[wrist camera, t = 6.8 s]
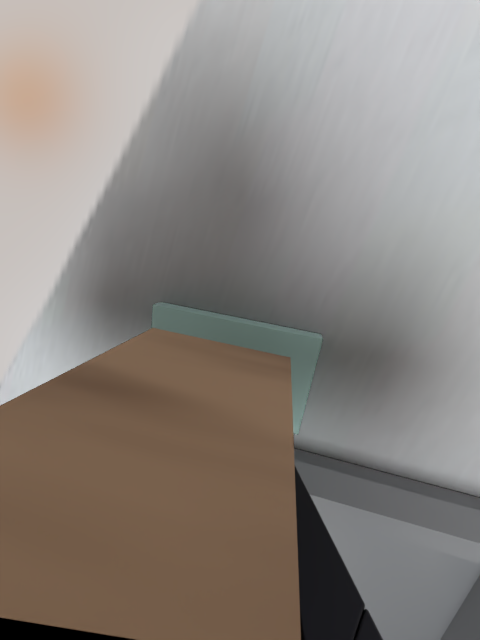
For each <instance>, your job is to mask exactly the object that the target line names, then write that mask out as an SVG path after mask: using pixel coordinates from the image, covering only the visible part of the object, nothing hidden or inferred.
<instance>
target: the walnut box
mask: <svg viewBox="0 0 480 640" xmlns="http://www.w3.org/2000/svg"><path fill="white" fill-rule="evenodd" d="M0 640H301V627H300V600H299V572H298V545H297V518H296V491H295V464H294V437H293V410H292V382H291V357H286V356H281V355H277V354H272V353H268V352H263V351H258V350H254V349H249V348H244V347H240V346H235V345H231V344H226V343H221V342H217V341H212V340H207V339H203V338H198V337H194V336H189V335H184V334H180V333H175V332H170V331H166V330H161V329H156V328H151V329H149V330H148V331H146V332H144V333H142V334H140V335H138V336H136V337H134V338H132V339H130V340H128V341H126V342H124V343H122V344H120V345H118V346H116V347H114V348H112V349H110V350H108V351H106V352H104V353H103V354H101V355H99V356H97V357H95V358H93V359H91V360H89V361H87V362H85V363H83V364H81V365H79V366H77V367H75V368H73V369H71V370H69V371H67V372H65V373H63V374H61V375H59V376H58V377H56V378H54V379H52V380H50V381H48V382H46V383H44V384H42V385H40V386H38V387H36V388H34V389H32V390H30V391H28V392H26V393H24V394H22V395H20V396H18V397H16V398H14V399H12V400H11V401H9V402H7V403H5V404H3V405H1V406H0Z"/></svg>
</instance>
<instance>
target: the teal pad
mask: <svg viewBox="0 0 480 640" xmlns="http://www.w3.org/2000/svg"><path fill="white" fill-rule="evenodd" d="M151 328H156V329H161V330H166V331H170V332H175V333H180V334H184V335H189V336H194V337H198V338H203V339H207V340H212V341H217V342H221V343H226V344H231V345H235V346H240V347H244V348H249V349H254V350H258V351H263V352H268V353H272V354H277V355H281V356H286V357H291V382H292V410H293V434H297V435H298V433H299V429H300V425H301V421H302V418H303V414H304V410H305V406H306V402H307V399H308V395H309V391H310V387H311V383H312V380H313V376H314V372H315V368H316V364H317V361H318V357H319V353H320V349H321V345H322V342H323V338H322V336H321V334H318V333H313V332H308V331H303V330H298V329H293V328H288V327H283V326H278V325H273V324H268V323H263V322H258V321H253V320H248V319H243V318H238V317H234V316H229V315H224V314H219V313H214V312H209V311H204V310H199V309H194V308H189V307H184V306H179V305H174V304H169V303H164V302H159V303H156V304H154V305H153V309H152V325H151Z"/></svg>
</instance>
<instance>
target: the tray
mask: <svg viewBox="0 0 480 640" xmlns="http://www.w3.org/2000/svg"><path fill="white" fill-rule="evenodd" d="M294 464H295V466H296V468H297V470H298V472H299V474H300V476H301V478H302V480H303V482H304V484H305V486H306V488H307V490H308V492H309V494H310V496H311V498H312V500H313V502H314V504H315V506H316V508H317V510H318V512H319V514H320V516H321V518H322V520H323V522H324V524H325V526H326V528H327V530H328V532H329V534H330V536H331V538H332V540H333V542H334V544H335V545H336V547H337V549H338V551H339V553H340V555H341V557H342V559H343V561H344V563H345V565H346V567H347V569H348V571H349V573H350V575H351V577H352V579H353V581H354V583H355V585H356V587H357V589H358V591H359V593H360V595H361V597H362V599H363V601H364V603H365V609H367V610H368V611H369V613H370V615H371V617H372V619H373V621H374V623H375V625H376V627H377V629H378V631H379V633H380V634H381V636H382V638H383V640H480V498H479V497H475V496H471V495H467V494H464V493H460V492H456V491H452V490H449V489H445V488H441V487H437V486H434V485H430V484H426V483H422V482H419V481H415V480H411V479H407V478H403V477H400V476H396V475H392V474H388V473H385V472H381V471H377V470H373V469H370V468H366V467H362V466H358V465H354V464H351V463H347V462H343V461H339V460H336V459H332V458H328V457H324V456H321V455H317V454H313V453H309V452H305V451H302V450H298V449H294ZM365 609H364V610H365Z"/></svg>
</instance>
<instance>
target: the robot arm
mask: <svg viewBox="0 0 480 640" xmlns="http://www.w3.org/2000/svg"><path fill="white" fill-rule="evenodd" d="M295 491H296V518H297V545H298V572H299V600H300V627H301V640H383V638H382V636H381V634H380V633H379V631H378V629H377V627H376V625H375V623H374V621H373V619H372V617H371V615H370V613H369V611H368V610H367V609H365V603H364V601H363V599H362V597H361V595H360V593H359V591H358V589H357V587H356V585H355V583H354V581H353V579H352V577H351V575H350V573H349V571H348V569H347V567H346V565H345V563H344V561H343V559H342V557H341V555H340V553H339V551H338V549H337V547H336V545H335V544H334V542H333V540H332V538H331V536H330V534H329V532H328V530H327V528H326V526H325V524H324V522H323V520H322V518H321V516H320V514H319V512H318V510H317V508H316V506H315V504H314V502H313V500H312V498H311V496H310V494H309V492H308V490H307V488H306V486H305V484H304V482H303V480H302V478H301V476H300V474H299V472H298V470H297V468H296V466H295ZM364 609H365V610H364Z"/></svg>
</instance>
